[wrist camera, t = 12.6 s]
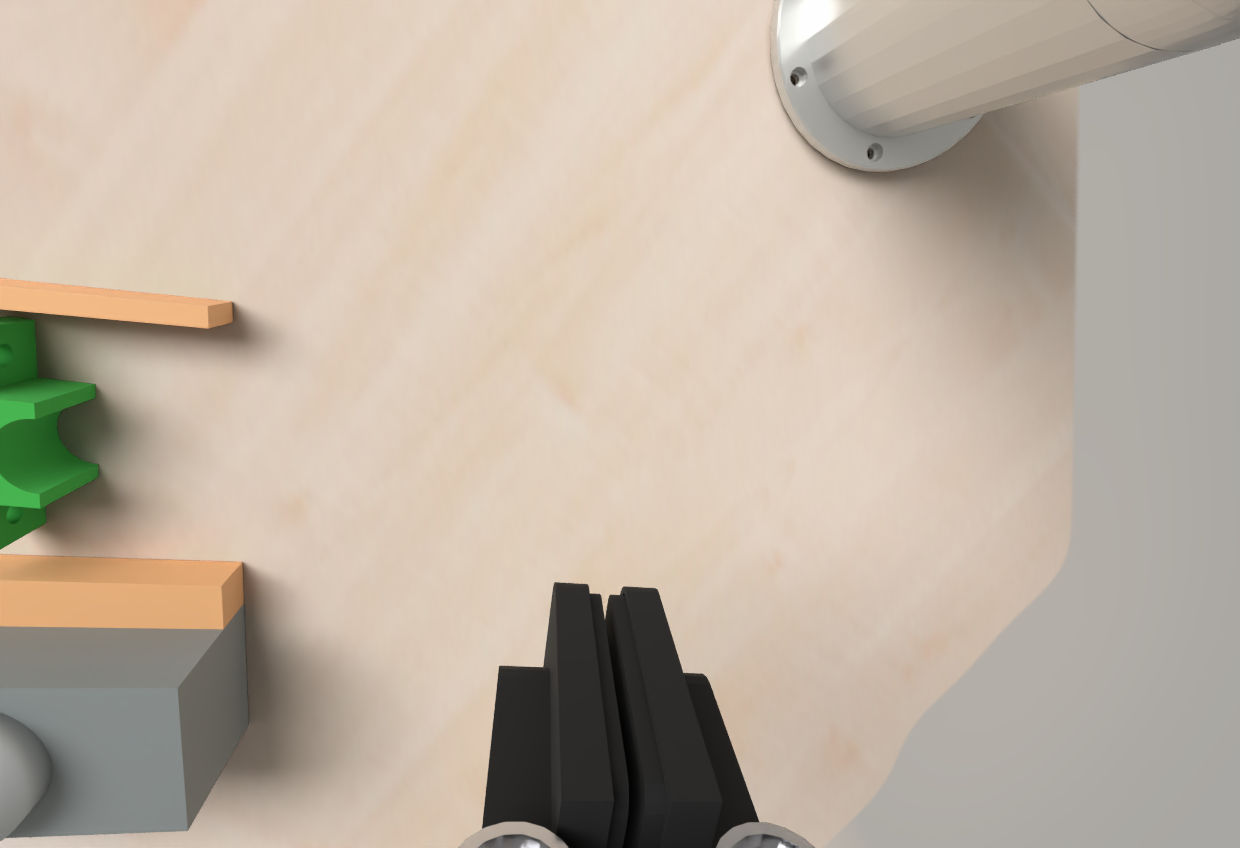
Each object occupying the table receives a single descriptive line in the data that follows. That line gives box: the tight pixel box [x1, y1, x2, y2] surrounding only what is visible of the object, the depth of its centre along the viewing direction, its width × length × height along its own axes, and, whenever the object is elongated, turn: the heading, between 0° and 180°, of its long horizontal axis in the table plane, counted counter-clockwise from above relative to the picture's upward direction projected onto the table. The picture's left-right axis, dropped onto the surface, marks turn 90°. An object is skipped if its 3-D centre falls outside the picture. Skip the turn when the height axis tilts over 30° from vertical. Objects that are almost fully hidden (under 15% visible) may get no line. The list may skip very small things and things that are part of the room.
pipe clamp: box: [0, 316, 99, 549], centre depth 29 cm, size 10×4×4 cm, turn 170°
